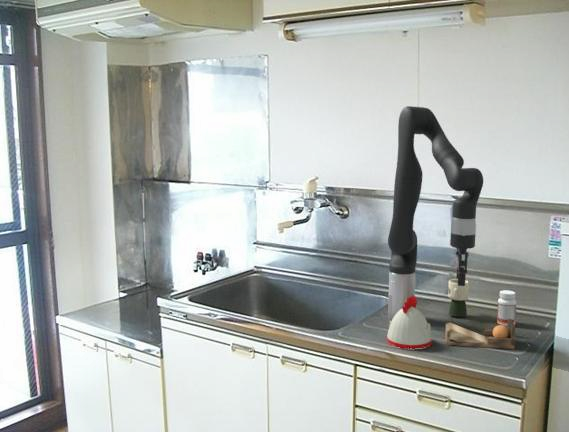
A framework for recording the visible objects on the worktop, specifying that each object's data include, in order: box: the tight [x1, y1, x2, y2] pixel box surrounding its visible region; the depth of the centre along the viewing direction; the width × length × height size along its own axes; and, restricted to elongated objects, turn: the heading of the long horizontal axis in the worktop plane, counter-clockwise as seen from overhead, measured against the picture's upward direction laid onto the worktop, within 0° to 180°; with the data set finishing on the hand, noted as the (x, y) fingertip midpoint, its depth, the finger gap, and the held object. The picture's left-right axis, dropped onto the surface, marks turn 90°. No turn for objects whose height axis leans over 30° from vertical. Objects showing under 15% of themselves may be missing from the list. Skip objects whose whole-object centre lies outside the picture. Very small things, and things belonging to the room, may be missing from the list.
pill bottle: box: [496, 289, 517, 327], centre depth 218 cm, size 6×6×11 cm
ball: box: [492, 324, 509, 338], centre depth 199 cm, size 5×5×5 cm
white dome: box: [386, 295, 432, 349], centre depth 200 cm, size 14×14×15 cm
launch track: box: [445, 319, 516, 350], centre depth 200 cm, size 20×9×9 cm, turn 78°
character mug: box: [447, 278, 470, 318], centre depth 227 cm, size 11×7×13 cm, turn 151°
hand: (460, 282), depth 199 cm, fingers open, 8 cm apart
